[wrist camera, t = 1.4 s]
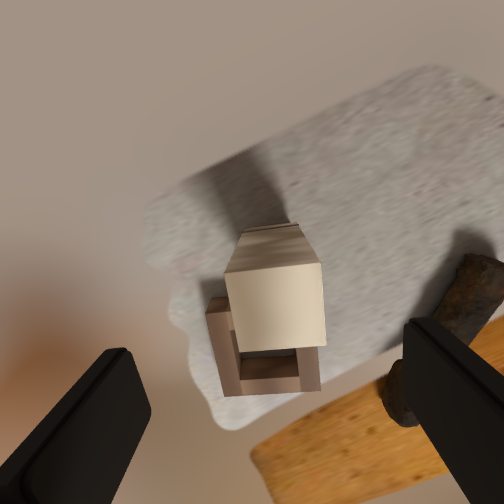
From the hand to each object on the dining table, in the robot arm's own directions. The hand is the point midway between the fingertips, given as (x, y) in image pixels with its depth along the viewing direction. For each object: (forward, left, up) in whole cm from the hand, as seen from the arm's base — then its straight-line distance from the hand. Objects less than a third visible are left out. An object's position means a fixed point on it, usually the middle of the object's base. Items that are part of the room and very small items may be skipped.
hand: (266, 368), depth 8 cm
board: (+1, +10, -16) cm, 19 cm away
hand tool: (-16, +12, -16) cm, 26 cm away
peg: (-1, 0, -16) cm, 16 cm away
